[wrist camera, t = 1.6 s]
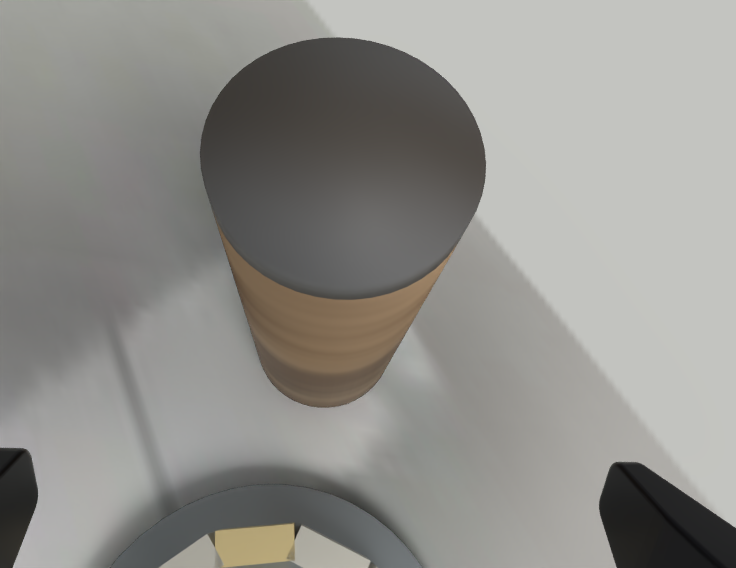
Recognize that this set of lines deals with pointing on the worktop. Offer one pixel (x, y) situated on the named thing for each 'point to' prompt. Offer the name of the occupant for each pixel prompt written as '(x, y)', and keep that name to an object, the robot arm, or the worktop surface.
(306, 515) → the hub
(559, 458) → the worktop surface
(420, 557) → the worktop surface
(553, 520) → the worktop surface
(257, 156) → the brown wooden canister
